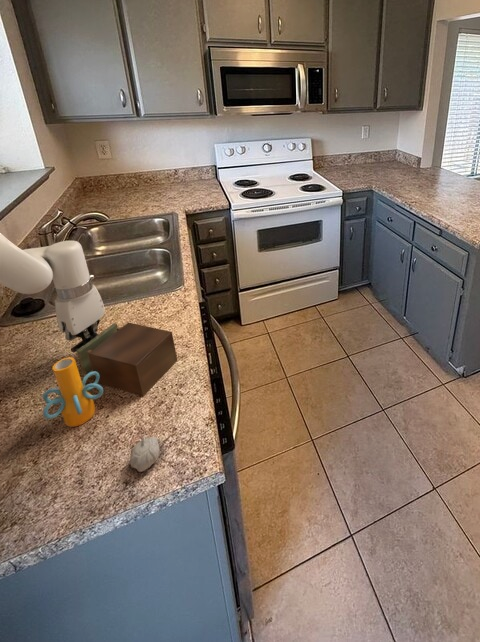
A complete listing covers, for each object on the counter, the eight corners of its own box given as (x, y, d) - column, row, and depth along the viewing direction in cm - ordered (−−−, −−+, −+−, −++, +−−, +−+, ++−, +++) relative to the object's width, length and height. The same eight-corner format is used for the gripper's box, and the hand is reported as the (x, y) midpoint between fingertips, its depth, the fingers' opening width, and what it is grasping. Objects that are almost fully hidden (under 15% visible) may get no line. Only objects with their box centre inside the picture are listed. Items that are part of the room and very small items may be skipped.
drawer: (67, 370, 94) (59, 346, 92) (104, 342, 105) (97, 319, 102) (125, 386, 89) (118, 361, 86) (157, 355, 99) (152, 331, 97)
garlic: (143, 445, 75) (138, 427, 73) (167, 448, 74) (163, 429, 73) (125, 475, 69) (119, 456, 68) (151, 478, 69) (146, 458, 67)
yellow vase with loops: (117, 393, 88) (104, 343, 83) (100, 431, 78) (83, 378, 73) (63, 401, 86) (46, 350, 81) (38, 441, 76) (17, 386, 71)
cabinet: (97, 383, 91) (88, 353, 88) (135, 350, 102) (128, 322, 99) (143, 396, 87) (135, 365, 84) (177, 360, 98) (172, 331, 95)
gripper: (89, 272, 99) (104, 326, 105) (34, 302, 86) (55, 362, 92) (110, 275, 97) (124, 331, 103) (57, 307, 83) (77, 369, 90)
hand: (92, 346), depth 97 cm, fingers closed
